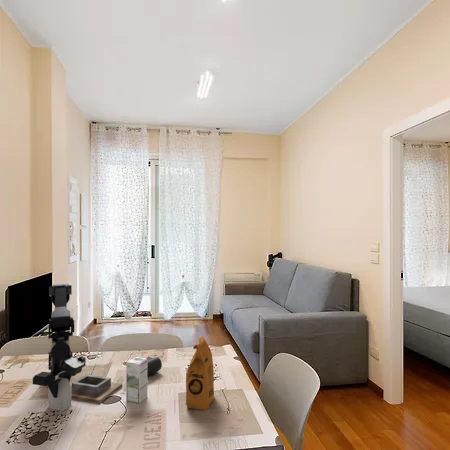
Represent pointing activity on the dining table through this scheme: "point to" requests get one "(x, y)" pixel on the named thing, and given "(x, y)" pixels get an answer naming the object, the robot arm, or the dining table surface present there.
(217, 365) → the dining table surface
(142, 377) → the syrup box
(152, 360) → the end cap
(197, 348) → the coffee package
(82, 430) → the dining table surface
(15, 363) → the dining table surface
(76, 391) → the dock
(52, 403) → the tea bag
